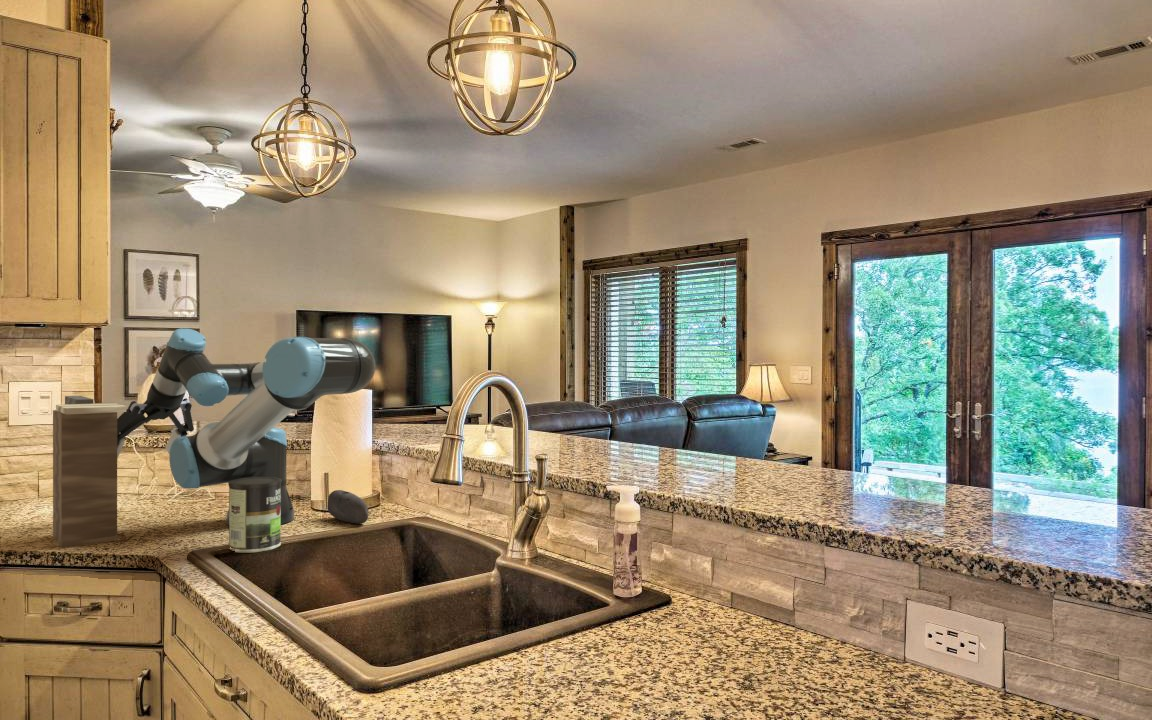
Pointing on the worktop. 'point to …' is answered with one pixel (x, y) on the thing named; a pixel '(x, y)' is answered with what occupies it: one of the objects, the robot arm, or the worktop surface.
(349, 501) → the dark grey stone
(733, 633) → the worktop surface
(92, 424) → the upright wooden block
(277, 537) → the coffee can
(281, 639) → the worktop surface
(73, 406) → the lid
